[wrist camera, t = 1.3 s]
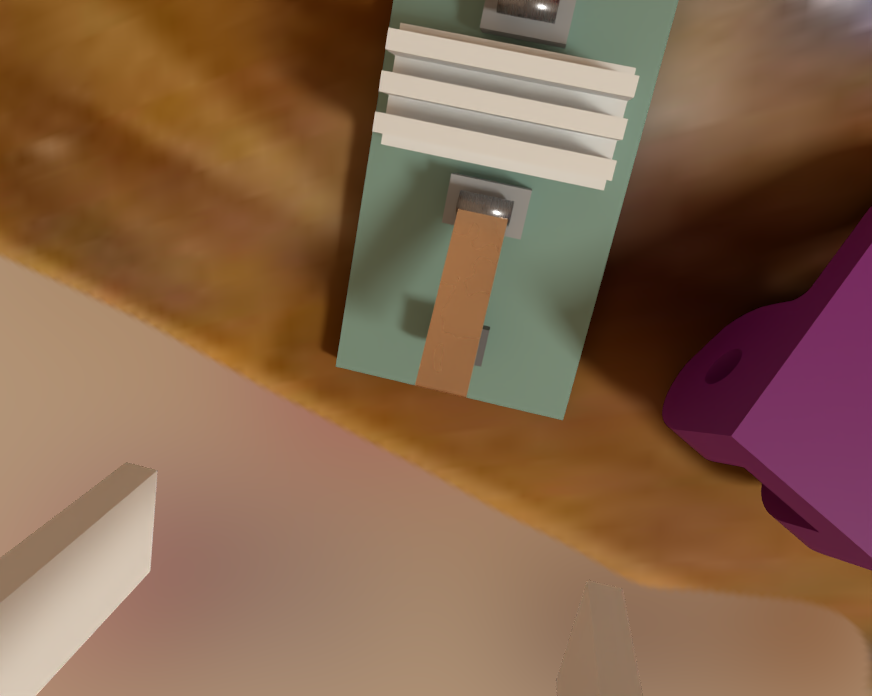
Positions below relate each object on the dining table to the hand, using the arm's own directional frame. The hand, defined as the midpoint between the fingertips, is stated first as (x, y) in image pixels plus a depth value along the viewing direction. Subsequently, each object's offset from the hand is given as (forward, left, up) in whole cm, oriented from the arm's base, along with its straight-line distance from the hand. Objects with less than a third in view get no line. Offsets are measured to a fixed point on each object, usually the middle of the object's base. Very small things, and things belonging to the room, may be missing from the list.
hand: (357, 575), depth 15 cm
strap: (-2, 0, -19) cm, 19 cm away
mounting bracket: (-4, +20, -24) cm, 31 cm away
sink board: (-11, 0, -24) cm, 26 cm away
